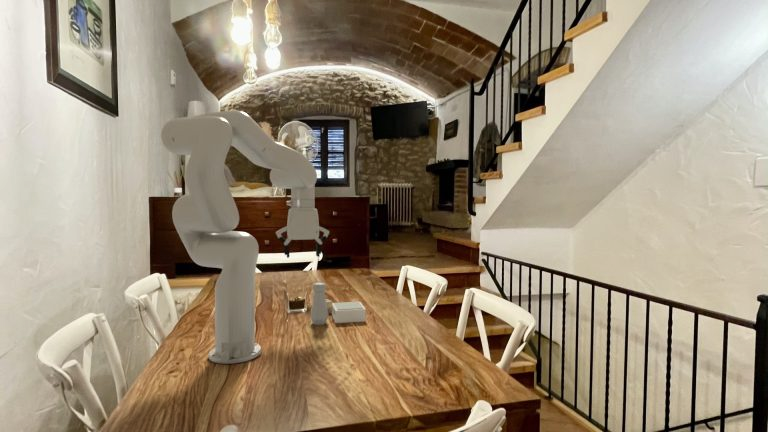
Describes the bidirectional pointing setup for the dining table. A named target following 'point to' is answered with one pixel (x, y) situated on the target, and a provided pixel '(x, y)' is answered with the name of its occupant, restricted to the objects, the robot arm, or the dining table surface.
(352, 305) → the base block
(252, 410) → the dining table surface
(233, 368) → the dining table surface
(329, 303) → the tan block
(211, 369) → the dining table surface
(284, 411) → the dining table surface
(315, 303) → the salt shaker
